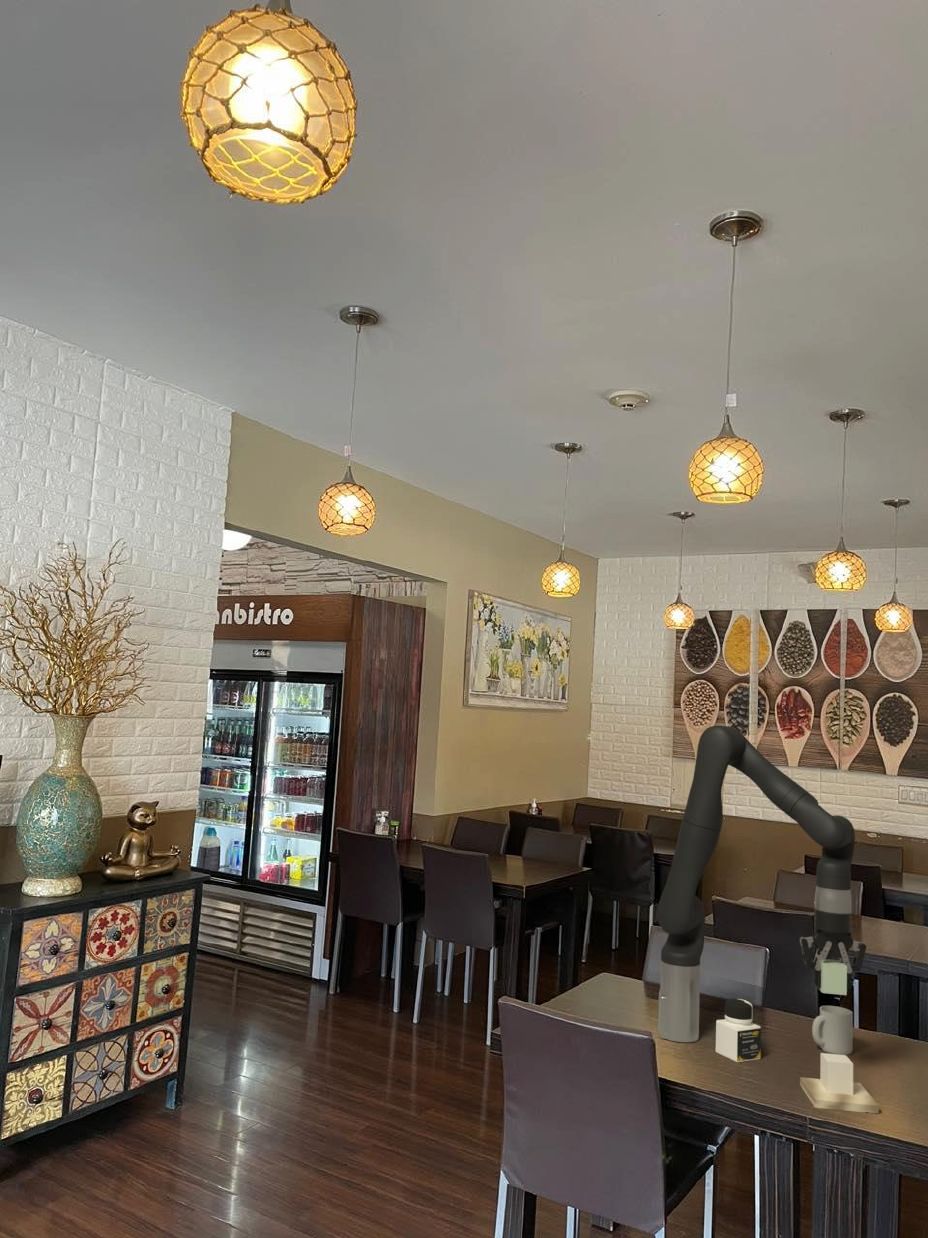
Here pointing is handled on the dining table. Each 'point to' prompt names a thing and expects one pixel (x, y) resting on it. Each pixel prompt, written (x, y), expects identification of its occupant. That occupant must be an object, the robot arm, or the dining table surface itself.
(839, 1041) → the cup
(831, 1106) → the beech board
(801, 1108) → the dining table surface
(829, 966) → the sage block
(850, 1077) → the cream block
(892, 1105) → the dining table surface
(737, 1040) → the medicine bottle
